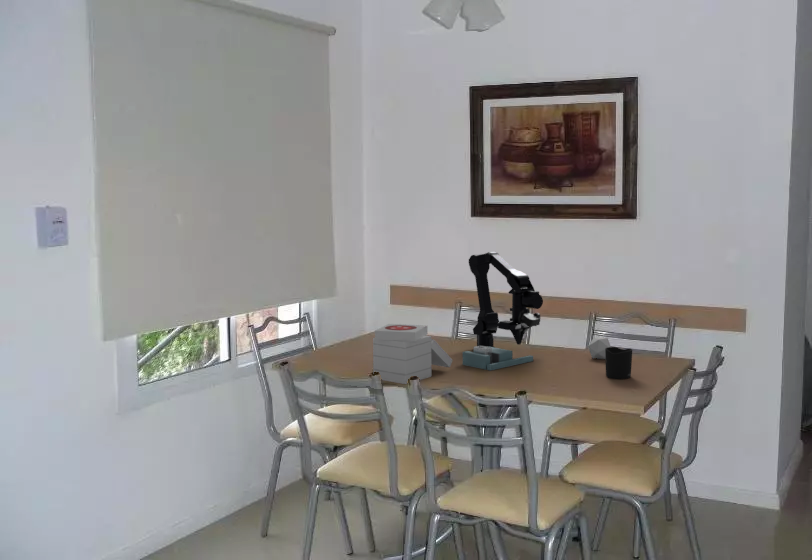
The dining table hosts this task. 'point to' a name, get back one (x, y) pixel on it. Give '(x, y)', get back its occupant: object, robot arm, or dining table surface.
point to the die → (598, 347)
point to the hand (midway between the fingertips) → (518, 344)
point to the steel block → (484, 350)
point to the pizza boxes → (406, 353)
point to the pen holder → (618, 363)
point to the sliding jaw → (500, 355)
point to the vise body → (485, 361)
